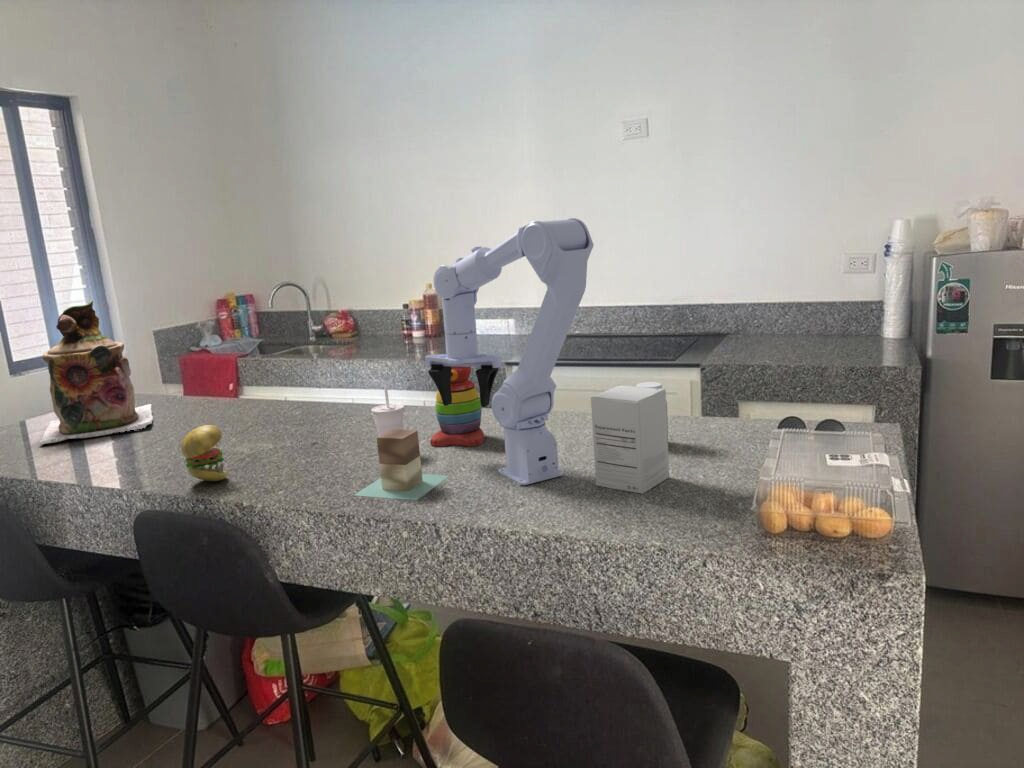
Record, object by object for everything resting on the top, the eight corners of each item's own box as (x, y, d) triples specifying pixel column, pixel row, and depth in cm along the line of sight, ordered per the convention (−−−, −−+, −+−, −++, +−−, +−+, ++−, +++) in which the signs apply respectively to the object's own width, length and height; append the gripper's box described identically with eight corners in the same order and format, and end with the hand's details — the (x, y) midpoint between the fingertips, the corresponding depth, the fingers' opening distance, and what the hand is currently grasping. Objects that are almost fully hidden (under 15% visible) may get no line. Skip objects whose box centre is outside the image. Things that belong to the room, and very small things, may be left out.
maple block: (422, 481, 129) (420, 456, 128) (408, 491, 125) (405, 465, 124) (397, 479, 131) (394, 454, 130) (382, 489, 126) (379, 463, 126)
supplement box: (623, 469, 128) (619, 384, 125) (670, 477, 123) (667, 388, 119) (593, 486, 121) (588, 395, 118) (642, 495, 116) (638, 400, 113)
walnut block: (420, 455, 128) (417, 430, 127) (405, 464, 124) (402, 438, 123) (394, 454, 130) (391, 429, 129) (379, 463, 126) (376, 437, 125)
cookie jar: (50, 427, 196) (25, 304, 189) (153, 411, 206) (133, 294, 199) (37, 448, 174) (8, 311, 167) (153, 430, 184) (130, 299, 177)
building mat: (450, 477, 131) (449, 475, 131) (416, 501, 120) (416, 500, 120) (390, 473, 136) (390, 472, 135) (353, 497, 125) (353, 495, 125)
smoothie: (378, 462, 143) (369, 390, 140) (375, 453, 149) (367, 384, 146) (411, 457, 144) (404, 386, 142) (407, 449, 150) (399, 380, 148)
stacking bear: (427, 447, 151) (418, 359, 147) (443, 433, 160) (435, 350, 157) (479, 447, 148) (471, 358, 145) (492, 432, 158) (485, 349, 154)
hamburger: (236, 480, 138) (226, 417, 136) (197, 492, 133) (186, 426, 131) (219, 473, 144) (209, 412, 141) (181, 483, 139) (170, 421, 137)
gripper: (414, 335, 135) (421, 409, 138) (488, 335, 129) (494, 411, 132) (432, 329, 141) (438, 399, 144) (504, 329, 136) (508, 402, 139)
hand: (466, 405), depth 138 cm, fingers open, 7 cm apart
